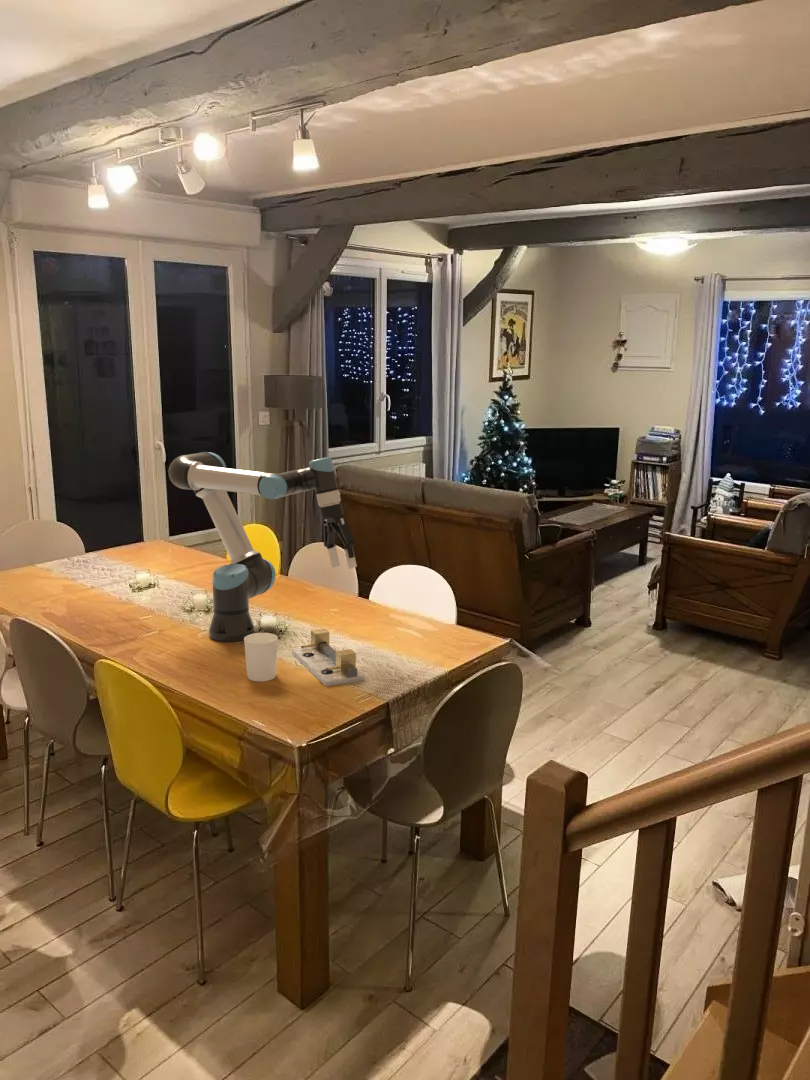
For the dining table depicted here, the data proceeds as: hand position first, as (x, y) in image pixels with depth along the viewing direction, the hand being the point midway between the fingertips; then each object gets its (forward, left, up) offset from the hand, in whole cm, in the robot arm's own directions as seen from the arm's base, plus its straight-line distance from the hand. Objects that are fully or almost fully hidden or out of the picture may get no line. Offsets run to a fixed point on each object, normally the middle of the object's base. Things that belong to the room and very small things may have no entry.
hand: (344, 567), depth 273 cm
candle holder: (-35, -22, -25) cm, 49 cm away
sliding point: (-14, -9, -23) cm, 28 cm away
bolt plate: (-15, -22, -25) cm, 37 cm away
